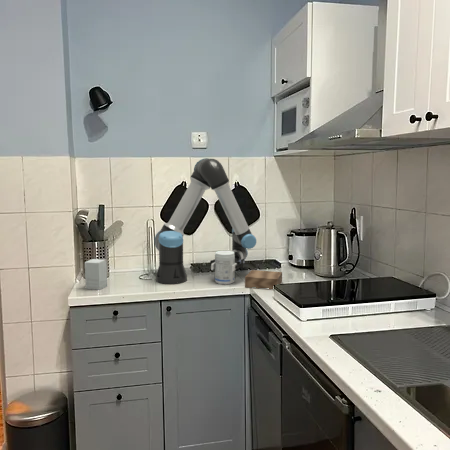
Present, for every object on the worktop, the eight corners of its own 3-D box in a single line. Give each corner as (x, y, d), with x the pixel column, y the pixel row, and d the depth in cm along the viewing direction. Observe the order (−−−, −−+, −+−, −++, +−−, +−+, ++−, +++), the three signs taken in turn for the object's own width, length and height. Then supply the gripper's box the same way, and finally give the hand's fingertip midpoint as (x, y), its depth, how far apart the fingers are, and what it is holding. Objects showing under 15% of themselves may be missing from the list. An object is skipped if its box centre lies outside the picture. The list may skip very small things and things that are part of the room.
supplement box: (107, 286, 218) (107, 259, 216) (99, 290, 211) (98, 262, 209) (93, 284, 220) (92, 258, 218) (85, 289, 213) (83, 261, 211)
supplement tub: (223, 278, 232) (223, 249, 230) (238, 281, 226) (239, 252, 224) (210, 282, 224) (210, 252, 222) (225, 286, 219) (226, 255, 216)
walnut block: (244, 287, 216) (245, 276, 216) (251, 279, 230) (251, 269, 229) (277, 289, 212) (277, 279, 211) (282, 282, 226) (282, 272, 225)
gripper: (255, 266, 239) (244, 277, 217) (214, 264, 245) (200, 274, 223) (255, 252, 238) (245, 261, 216) (214, 249, 244) (199, 258, 222)
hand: (222, 267), depth 220 cm, fingers closed on supplement tub, 9 cm apart
